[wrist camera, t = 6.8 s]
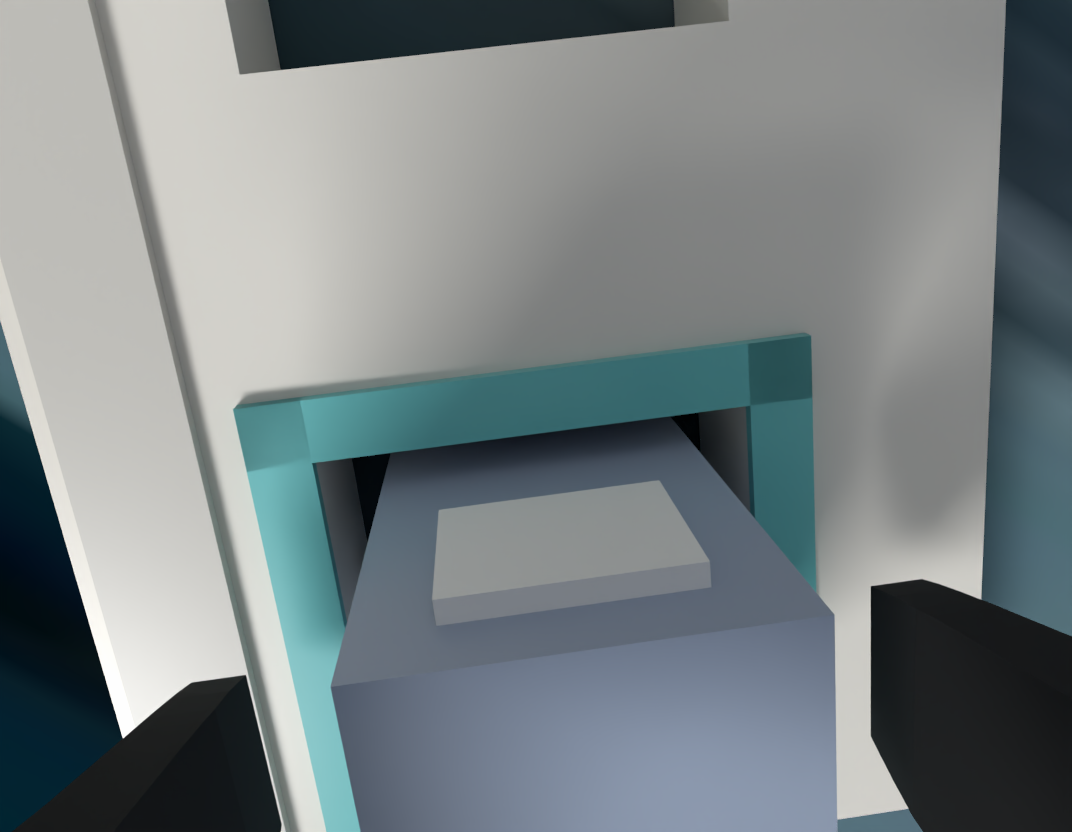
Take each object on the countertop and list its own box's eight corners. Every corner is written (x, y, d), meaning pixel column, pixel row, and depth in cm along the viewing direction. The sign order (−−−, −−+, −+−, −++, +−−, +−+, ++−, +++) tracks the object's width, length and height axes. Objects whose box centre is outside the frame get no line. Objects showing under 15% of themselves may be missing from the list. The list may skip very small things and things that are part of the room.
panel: (906, -582, 10) (1052, -833, 8) (893, 700, 15) (980, 808, 13) (-116, -502, 10) (-327, -744, 7) (222, 800, 15) (172, 933, 12)
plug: (650, 377, 13) (833, 587, 7) (667, 617, 15) (839, 996, 8) (395, 410, 13) (323, 659, 7) (434, 650, 14) (409, 1067, 8)
